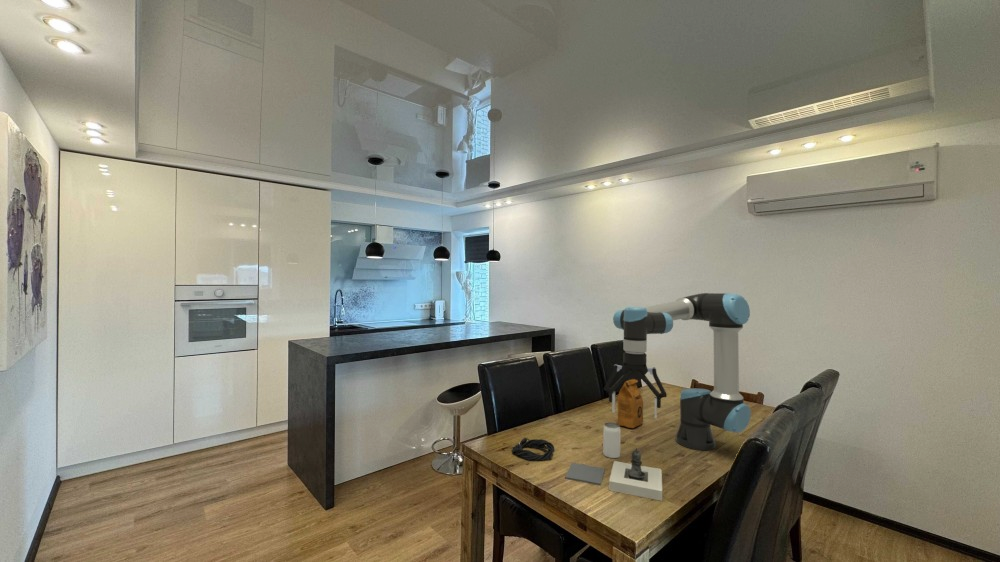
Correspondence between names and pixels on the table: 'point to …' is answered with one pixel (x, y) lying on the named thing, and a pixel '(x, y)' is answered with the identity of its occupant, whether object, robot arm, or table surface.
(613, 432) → the can
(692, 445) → the robot arm
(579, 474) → the rubber mat
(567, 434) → the table surface
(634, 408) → the coffee package
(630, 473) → the grey statuette
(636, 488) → the white square tray
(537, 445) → the cable
